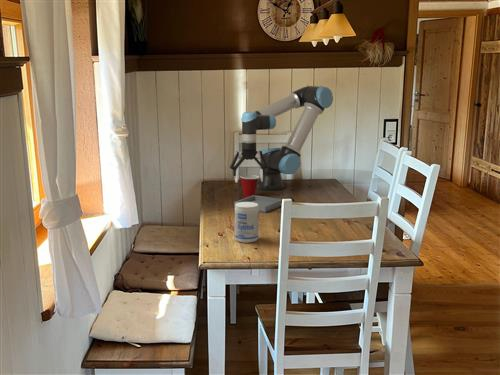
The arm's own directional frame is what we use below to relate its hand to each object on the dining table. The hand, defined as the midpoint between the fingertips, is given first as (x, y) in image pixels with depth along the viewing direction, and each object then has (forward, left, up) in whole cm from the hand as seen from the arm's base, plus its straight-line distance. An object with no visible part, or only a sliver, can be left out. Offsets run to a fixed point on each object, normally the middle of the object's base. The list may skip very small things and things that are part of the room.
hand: (248, 181), depth 287 cm
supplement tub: (+62, +39, -9) cm, 74 cm away
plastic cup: (0, 0, -9) cm, 9 cm away
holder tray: (+14, +15, -9) cm, 22 cm away
